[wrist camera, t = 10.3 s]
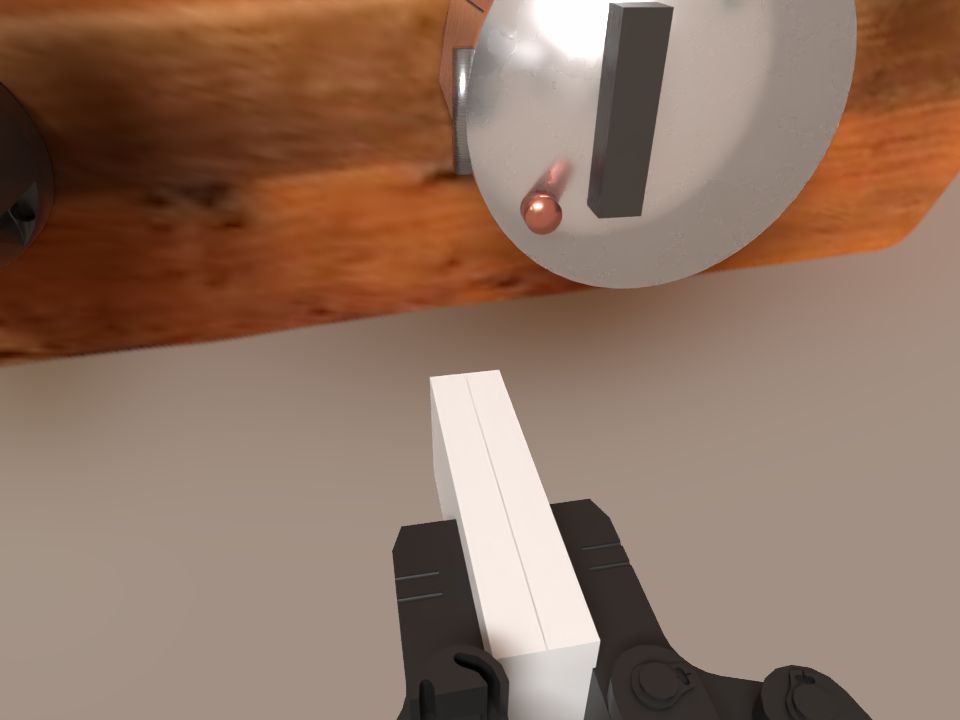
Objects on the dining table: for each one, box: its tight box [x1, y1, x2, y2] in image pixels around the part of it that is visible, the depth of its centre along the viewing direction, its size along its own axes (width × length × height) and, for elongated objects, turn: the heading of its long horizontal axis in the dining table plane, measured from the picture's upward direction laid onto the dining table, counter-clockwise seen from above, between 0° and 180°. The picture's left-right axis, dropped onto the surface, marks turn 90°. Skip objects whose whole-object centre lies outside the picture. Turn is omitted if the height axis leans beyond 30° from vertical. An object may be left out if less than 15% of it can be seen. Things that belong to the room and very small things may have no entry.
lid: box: [452, 0, 857, 289], centre depth 35 cm, size 22×21×3 cm
